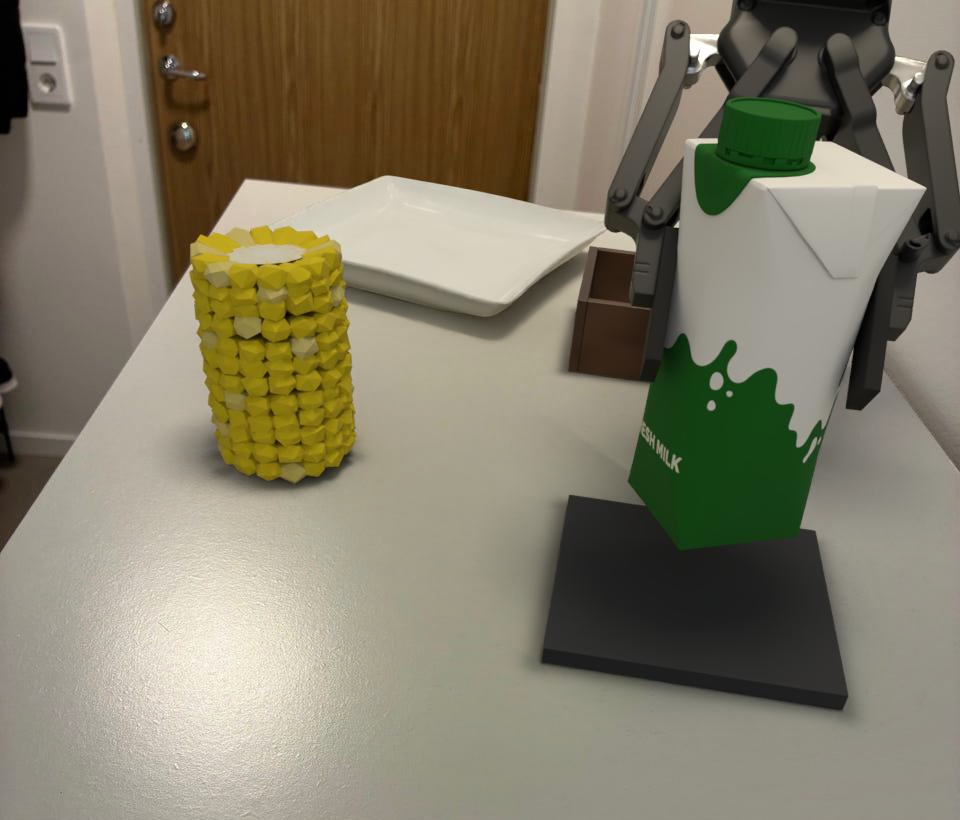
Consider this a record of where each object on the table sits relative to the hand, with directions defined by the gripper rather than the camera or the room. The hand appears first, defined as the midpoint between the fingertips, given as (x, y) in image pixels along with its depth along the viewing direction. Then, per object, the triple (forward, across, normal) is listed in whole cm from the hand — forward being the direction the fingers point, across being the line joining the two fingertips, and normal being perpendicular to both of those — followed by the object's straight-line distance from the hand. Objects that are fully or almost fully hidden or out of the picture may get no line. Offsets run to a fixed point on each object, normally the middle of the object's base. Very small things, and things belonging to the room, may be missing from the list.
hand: (755, 385), depth 46 cm
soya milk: (+4, 0, -9) cm, 10 cm away
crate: (-17, +3, -38) cm, 42 cm away
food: (+1, +28, -20) cm, 34 cm away
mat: (+8, 0, -13) cm, 15 cm away
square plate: (-27, +25, -48) cm, 61 cm away
